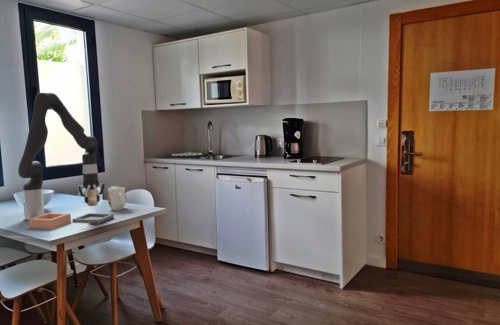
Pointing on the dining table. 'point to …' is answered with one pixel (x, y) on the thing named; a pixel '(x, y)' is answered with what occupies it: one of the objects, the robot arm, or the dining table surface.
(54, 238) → the dining table surface
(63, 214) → the orange open box
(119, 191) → the pitcher
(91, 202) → the cylinder
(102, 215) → the tray
